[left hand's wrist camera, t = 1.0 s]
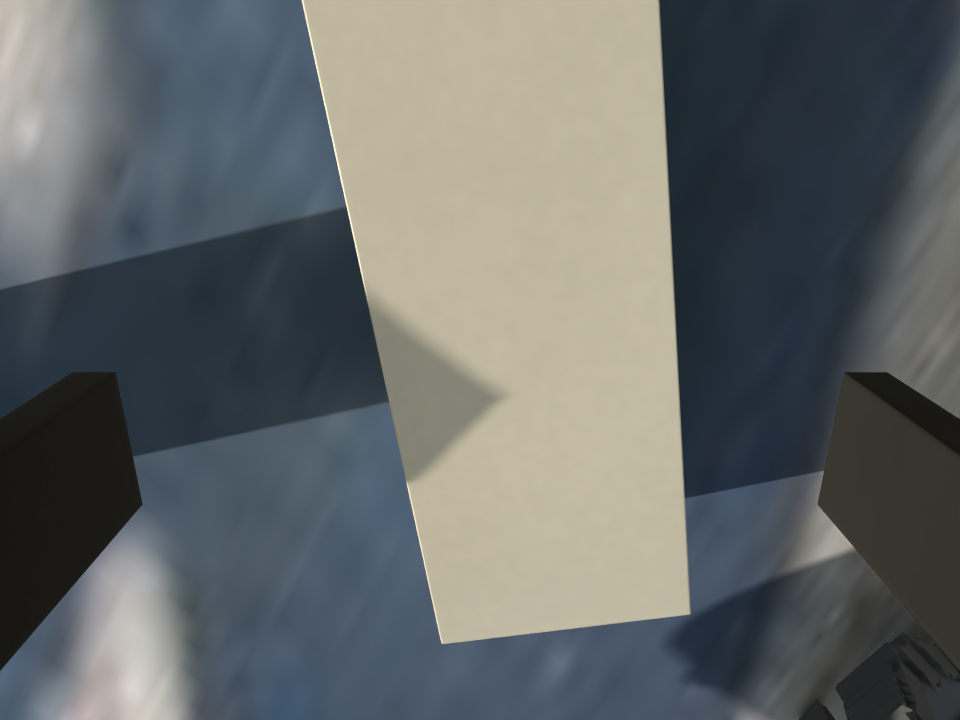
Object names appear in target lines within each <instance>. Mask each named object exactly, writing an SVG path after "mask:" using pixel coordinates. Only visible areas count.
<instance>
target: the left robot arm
mask: <svg viewBox="0 0 960 720" xmlns="http://www.w3.org/2000/svg"><path fill="white" fill-rule="evenodd" d="M141 505H142V500H141V495H140V490H139V485H138V480H137V475H136V470H135V465H134V461H133V456H132V451H131V446H130V441H129V436H128V431H127V426H126V422H125V417H124V412H123V407H122V402H121V397H120V392H119V387H118V383H117V378H116V373H115V372H73V373H71V374H70V375H68V376H67V377H65V378H63V379H62V380H60V381H59V382H57V383H56V384H54V385H53V386H51V387H50V388H48V389H46V390H45V391H43V392H42V393H40V394H39V395H37V396H36V397H34V398H32V399H31V400H29V401H28V402H26V403H25V404H23V405H22V406H20V407H19V408H17V409H15V410H14V411H12V412H11V413H9V414H8V415H6V416H5V417H3V418H2V419H0V670H1V669H2V668H3V667H4V666H5V665H6V663H7V662H8V661H9V660H10V659H11V658H12V656H13V655H14V654H15V653H16V652H17V650H18V649H19V648H20V647H21V646H22V645H23V643H24V642H25V641H26V640H27V639H28V638H29V636H30V635H31V634H32V633H33V632H34V631H35V629H36V628H37V627H38V626H39V625H40V624H41V622H42V621H43V620H44V619H45V618H46V617H47V615H48V614H49V613H50V612H51V611H52V610H53V608H54V607H55V606H56V605H57V604H58V603H59V601H60V600H61V599H62V598H63V597H64V596H65V594H66V593H67V592H68V591H69V590H70V589H71V587H72V586H73V585H74V584H75V583H76V581H77V580H78V579H79V578H80V577H81V576H82V574H83V573H84V572H85V571H86V570H87V569H88V567H89V566H90V565H91V564H92V563H93V562H94V560H95V559H96V558H97V557H98V556H99V555H100V553H101V552H102V551H103V550H104V549H105V548H106V546H107V545H108V544H109V543H110V542H111V541H112V539H113V538H114V537H115V536H116V535H117V534H118V532H119V531H120V530H121V529H122V528H123V527H124V525H125V524H126V523H127V522H128V521H129V519H130V518H131V517H132V516H133V515H134V514H135V512H136V511H137V510H138V509H139V508H140V507H141ZM818 505H819V507H820V508H821V509H822V510H823V511H824V512H825V514H826V515H827V516H828V517H829V518H830V519H831V521H832V522H833V523H834V524H835V525H836V527H837V528H838V529H839V530H840V531H841V532H842V534H843V535H844V536H845V537H846V538H847V539H848V541H849V542H850V543H851V544H852V545H853V546H854V548H855V549H856V550H857V551H858V552H859V553H860V555H861V556H862V557H863V558H864V559H865V560H866V562H867V563H868V564H869V565H870V566H871V567H872V569H873V570H874V571H875V572H876V573H877V574H878V576H879V577H880V578H881V579H882V580H883V581H884V583H885V584H886V585H887V586H888V587H889V589H890V590H891V591H892V592H893V593H894V594H895V596H896V597H897V598H898V599H899V600H900V601H901V603H902V604H903V605H904V606H905V607H906V608H907V610H908V611H909V612H910V613H911V614H912V615H913V617H914V618H915V619H916V620H917V621H918V622H919V624H920V625H921V626H922V627H923V628H924V629H925V631H926V632H927V633H928V634H929V635H930V636H931V638H932V639H933V640H934V641H935V642H936V643H937V645H938V646H939V647H940V648H941V649H942V650H943V652H944V653H945V654H946V655H947V656H948V658H949V659H950V660H951V661H952V662H953V663H954V665H955V666H956V667H957V668H958V669H959V670H960V419H958V418H957V417H955V416H954V415H952V414H951V413H949V412H948V411H946V410H945V409H943V408H941V407H940V406H938V405H937V404H935V403H934V402H932V401H931V400H929V399H928V398H926V397H924V396H923V395H921V394H920V393H918V392H917V391H915V390H914V389H912V388H910V387H909V386H907V385H906V384H904V383H903V382H901V381H900V380H898V379H897V378H895V377H893V376H892V375H890V374H889V373H887V372H845V373H844V378H843V383H842V387H841V392H840V397H839V402H838V407H837V412H836V417H835V422H834V426H833V431H832V436H831V441H830V446H829V451H828V456H827V461H826V465H825V470H824V475H823V480H822V485H821V490H820V495H819V500H818Z"/></svg>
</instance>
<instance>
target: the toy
mask: <svg viewBox="0 0 960 720" xmlns="http://www.w3.org/2000/svg"><path fill="white" fill-rule="evenodd" d="M836 686H837V687H836V688H835V689H836V690H837V692H838V694H839V695H840V697H841V698H842V700H843V702H844V703H843V705H844V708H845V713H846V715H847V719H848V720H960V670H959V669H958V668H957V667H956V666H955V665H954V663H953V662H952V661H951V660H950V659H949V658H948V656H947V655H946V654H945V653H944V652H943V650H942V649H941V648H940V647H939V646H936V645H930V644H928V643H926V642H924V641H921V640H919V639H916V638H914V637H911V636H908V635H906V634H903V633H902V634H901V635H899V636H898V637H897V638H896V639H895V640H893V641H892V642H891V643H888V642H887V643H886V644H884V645H883V646H882V647H881V648H880V649H879V650H877V651H876V652H875V653H874V654H873V655H871V656H870V657H869V658H868V659H867V660H866V661H864V662H863V663H862V664H861V665H860V666H859V667H857V668H856V669H855V670H854V671H853V672H852V673H850V674H849V675H848V676H847V677H846V678H845V679H843V680H842V681H841V682H840V683H839V684H838V685H836ZM799 720H835V719H834V717H833V716H832V715H831V713H830V712H829V711H828V709H827V708H826V707H825V706H823V705H822V704H820V703H819V702H818V703H817V704H816V705H814V706H813V707H812V708H811V709H810V710H809V711H807V712H806V713H805V714H804V715H803V716H802V717H800V718H799Z"/></svg>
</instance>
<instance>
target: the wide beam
mask: <svg viewBox="0 0 960 720" xmlns="http://www.w3.org/2000/svg"><path fill="white" fill-rule="evenodd" d="M302 3H303V7H304V12H305V17H306V21H307V26H308V30H309V35H310V40H311V44H312V49H313V53H314V58H315V63H316V67H317V72H318V76H319V81H320V86H321V90H322V95H323V100H324V104H325V109H326V113H327V118H328V123H329V127H330V132H331V136H332V141H333V146H334V150H335V155H336V159H337V164H338V169H339V173H340V178H341V182H342V187H343V192H344V196H345V201H346V205H347V210H348V215H349V219H350V224H351V228H352V233H353V238H354V242H355V247H356V251H357V256H358V261H359V265H360V270H361V275H362V279H363V284H364V288H365V293H366V298H367V302H368V307H369V311H370V316H371V321H372V325H373V330H374V334H375V339H376V344H377V348H378V353H379V357H380V362H381V367H382V371H383V376H384V380H385V385H386V390H387V394H388V399H389V403H390V408H391V413H392V417H393V422H394V426H395V431H396V436H397V440H398V445H399V450H400V454H401V459H402V463H403V468H404V473H405V477H406V482H407V486H408V491H409V496H410V500H411V505H412V509H413V514H414V519H415V523H416V528H417V532H418V537H419V542H420V546H421V551H422V555H423V560H424V565H425V569H426V574H427V578H428V583H429V588H430V592H431V597H432V601H433V606H434V611H435V615H436V620H437V625H438V629H439V634H440V638H441V643H442V644H447V643H455V642H463V641H472V640H480V639H488V638H497V637H505V636H513V635H522V634H530V633H538V632H547V631H555V630H563V629H572V628H580V627H588V626H597V625H605V624H613V623H622V622H630V621H638V620H647V619H655V618H663V617H672V616H680V615H688V614H690V613H691V610H690V590H689V570H688V551H687V531H686V512H685V492H684V472H683V453H682V433H681V414H680V394H679V375H678V355H677V335H676V316H675V296H674V277H673V257H672V237H671V218H670V198H669V179H668V159H667V140H666V120H665V100H664V81H663V61H662V42H661V22H660V2H659V0H302Z"/></svg>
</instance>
